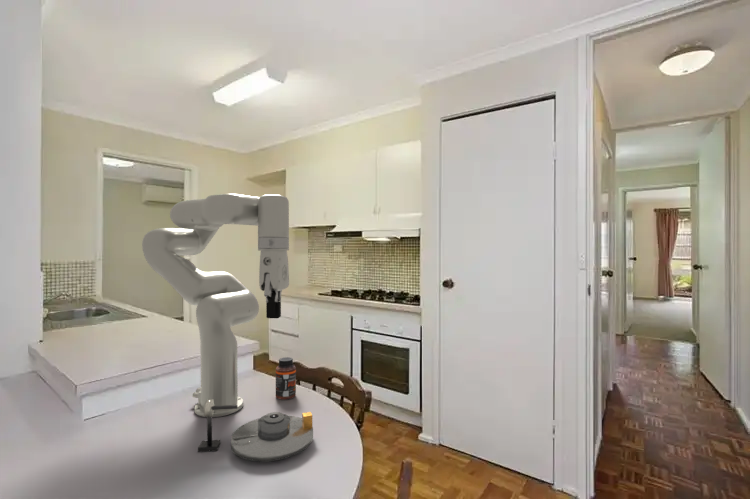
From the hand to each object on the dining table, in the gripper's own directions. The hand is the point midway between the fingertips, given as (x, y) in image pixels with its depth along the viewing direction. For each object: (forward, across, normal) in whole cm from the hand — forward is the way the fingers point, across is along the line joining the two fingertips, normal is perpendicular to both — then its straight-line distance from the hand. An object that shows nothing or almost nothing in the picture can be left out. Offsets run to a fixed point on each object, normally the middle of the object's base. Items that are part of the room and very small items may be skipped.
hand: (273, 317), depth 98 cm
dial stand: (+27, -12, +9) cm, 31 cm away
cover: (+24, -10, -3) cm, 26 cm away
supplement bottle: (+27, +18, +2) cm, 33 cm away
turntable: (+26, -10, -3) cm, 28 cm away
